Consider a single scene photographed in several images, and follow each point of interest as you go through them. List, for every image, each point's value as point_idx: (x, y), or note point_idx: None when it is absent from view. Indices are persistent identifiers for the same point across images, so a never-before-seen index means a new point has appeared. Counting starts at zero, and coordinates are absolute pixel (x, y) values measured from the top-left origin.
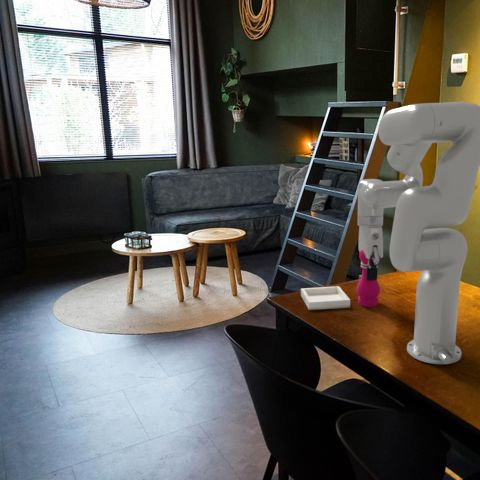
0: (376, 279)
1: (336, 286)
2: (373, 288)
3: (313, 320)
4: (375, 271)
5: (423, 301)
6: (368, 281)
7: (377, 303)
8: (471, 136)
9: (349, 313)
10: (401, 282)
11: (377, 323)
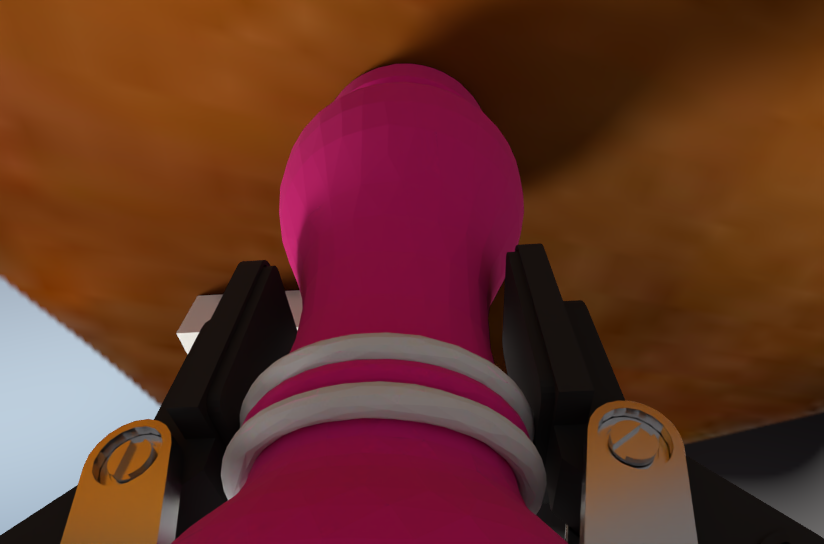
0: (538, 248)
1: (186, 347)
2: (520, 216)
3: None
4: (610, 373)
5: None
6: (490, 304)
7: (459, 86)
8: None
9: (569, 299)
10: None
11: (808, 177)
